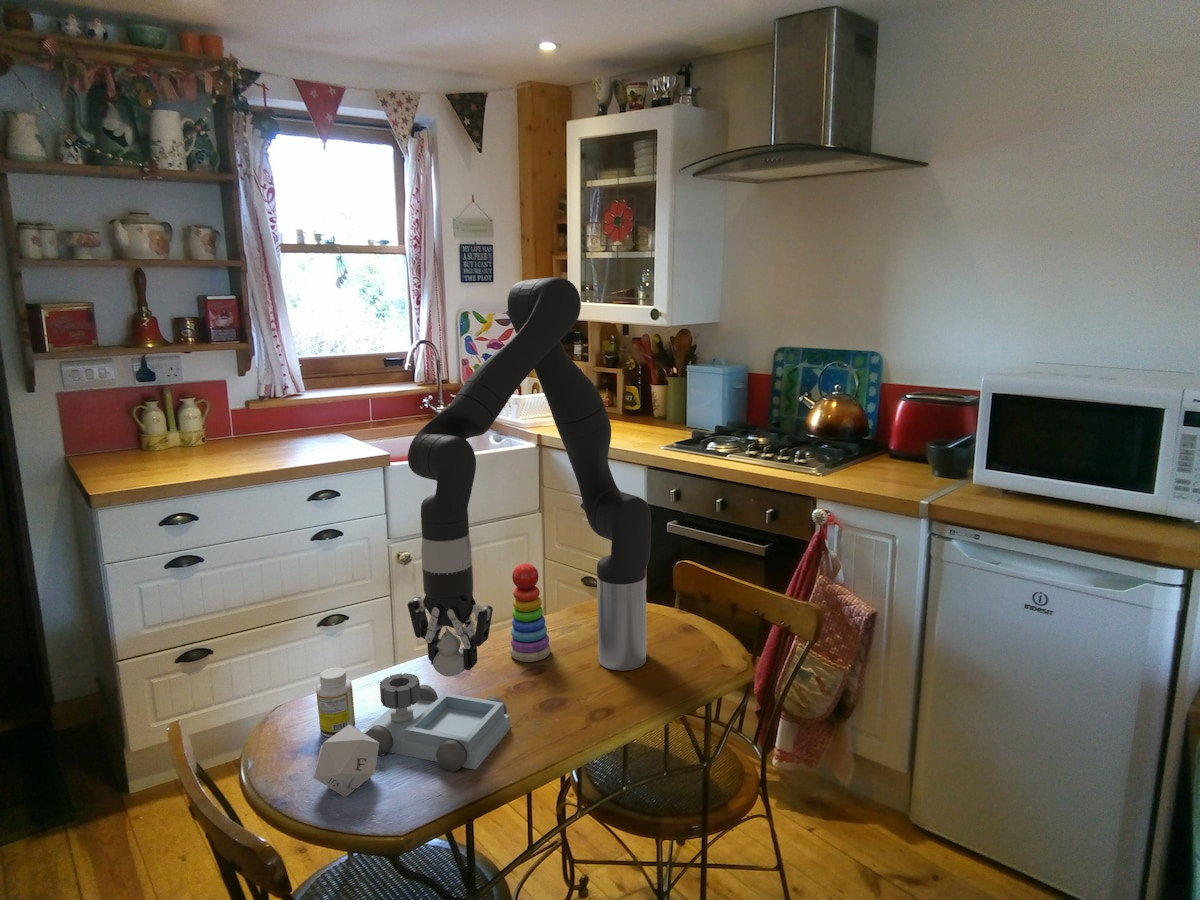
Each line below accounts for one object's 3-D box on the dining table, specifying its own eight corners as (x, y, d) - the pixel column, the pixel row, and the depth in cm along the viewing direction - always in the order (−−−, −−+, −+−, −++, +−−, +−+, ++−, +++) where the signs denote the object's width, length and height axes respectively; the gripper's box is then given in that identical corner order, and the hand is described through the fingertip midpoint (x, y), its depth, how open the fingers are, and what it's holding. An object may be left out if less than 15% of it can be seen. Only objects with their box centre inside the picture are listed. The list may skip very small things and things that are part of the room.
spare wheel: (395, 687, 137) (394, 671, 136) (426, 693, 135) (425, 676, 134) (374, 705, 131) (372, 688, 131) (406, 711, 129) (405, 693, 129)
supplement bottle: (336, 718, 138) (331, 662, 136) (362, 724, 136) (357, 668, 134) (312, 735, 133) (307, 677, 131) (339, 742, 131) (334, 683, 129)
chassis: (409, 705, 142) (407, 672, 141) (514, 723, 136) (512, 689, 134) (356, 752, 128) (353, 716, 127) (470, 775, 122) (468, 738, 120)
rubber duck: (428, 671, 129) (425, 623, 127) (468, 661, 132) (465, 614, 131) (440, 685, 125) (437, 636, 123) (480, 674, 128) (478, 626, 126)
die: (308, 809, 116) (337, 768, 112) (301, 752, 122) (329, 711, 118) (364, 806, 121) (394, 767, 117) (355, 752, 127) (383, 713, 123)
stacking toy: (532, 642, 166) (529, 554, 162) (559, 654, 161) (556, 563, 157) (501, 655, 161) (498, 564, 157) (528, 667, 155) (525, 574, 151)
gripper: (500, 559, 126) (504, 661, 129) (419, 550, 131) (425, 649, 134) (477, 576, 119) (482, 683, 122) (392, 566, 124) (400, 669, 127)
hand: (452, 664), depth 128 cm, fingers closed on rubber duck, 5 cm apart
